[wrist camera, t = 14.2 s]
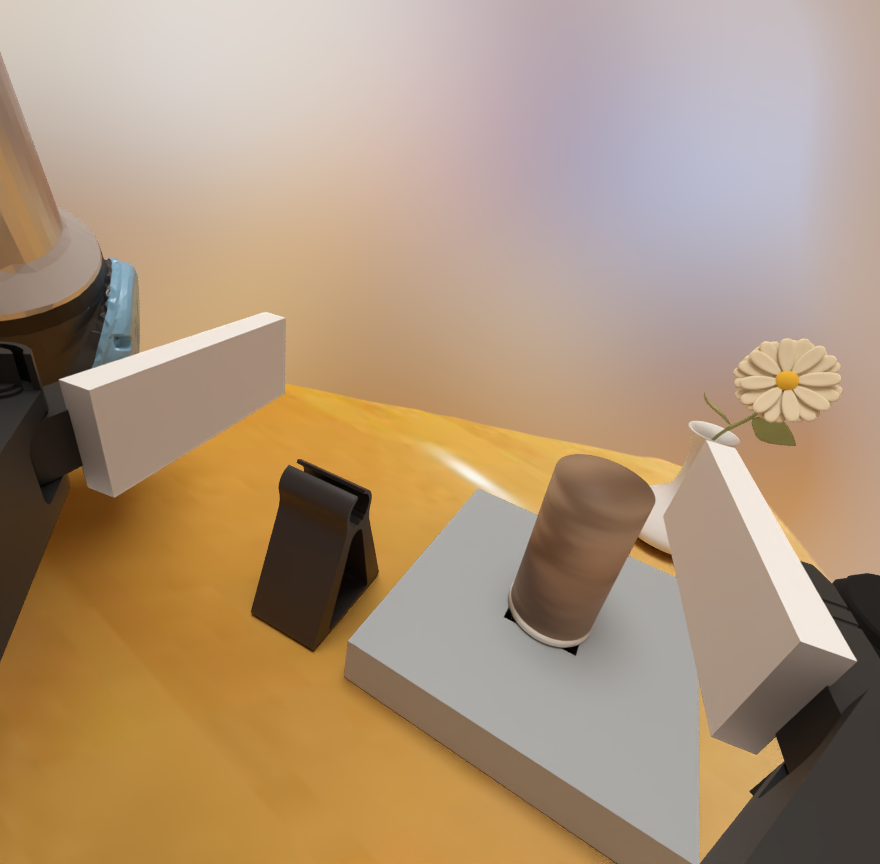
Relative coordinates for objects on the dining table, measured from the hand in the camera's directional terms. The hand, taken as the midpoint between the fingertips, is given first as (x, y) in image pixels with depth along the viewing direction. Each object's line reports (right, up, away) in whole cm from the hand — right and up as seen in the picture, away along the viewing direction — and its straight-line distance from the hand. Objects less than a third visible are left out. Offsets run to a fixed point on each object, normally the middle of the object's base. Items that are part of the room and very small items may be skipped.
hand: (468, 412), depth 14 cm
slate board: (+7, -18, +23) cm, 30 cm away
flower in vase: (+26, -13, +39) cm, 49 cm away
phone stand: (-11, -14, +24) cm, 30 cm away
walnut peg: (+7, -18, +23) cm, 30 cm away
